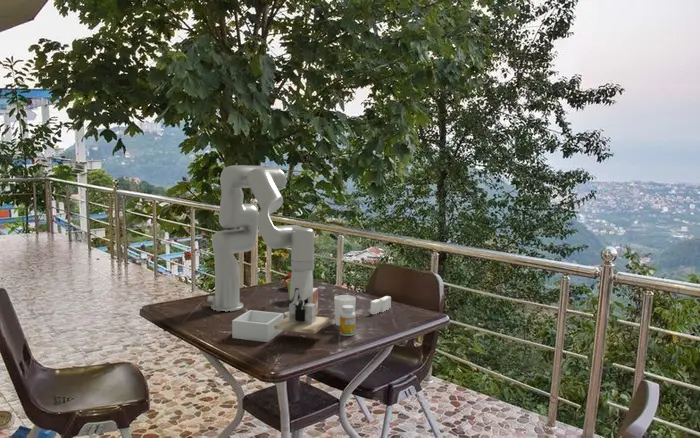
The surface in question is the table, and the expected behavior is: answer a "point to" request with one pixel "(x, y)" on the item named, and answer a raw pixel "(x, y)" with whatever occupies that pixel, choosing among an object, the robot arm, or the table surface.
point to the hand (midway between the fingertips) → (302, 318)
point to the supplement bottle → (347, 321)
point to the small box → (314, 298)
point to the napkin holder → (380, 305)
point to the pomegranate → (287, 278)
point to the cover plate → (302, 326)
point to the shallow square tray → (256, 325)
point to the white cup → (340, 302)
